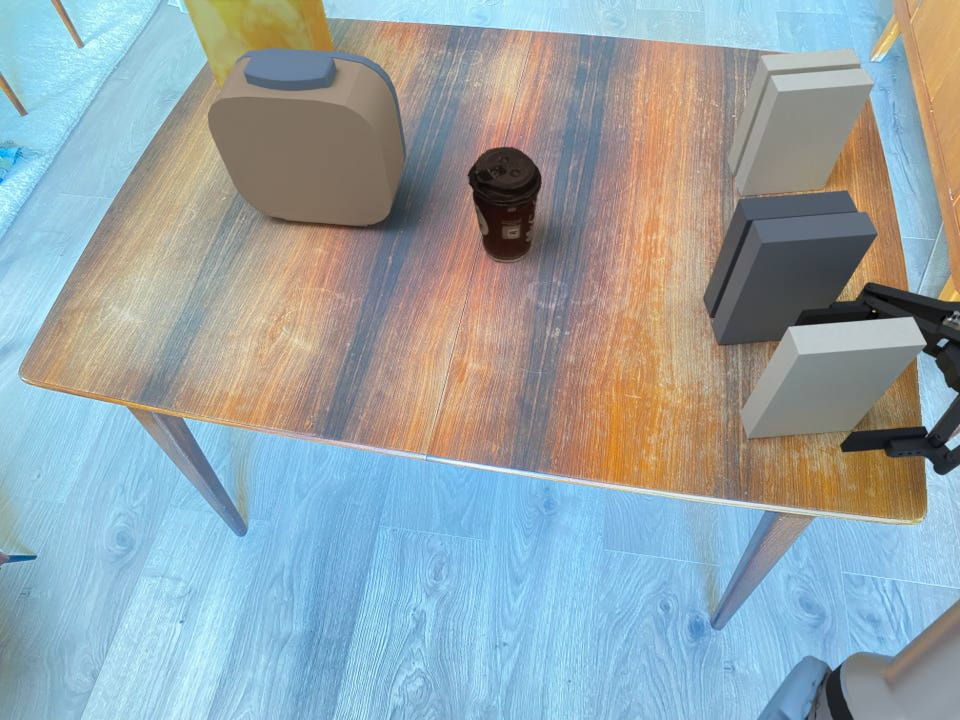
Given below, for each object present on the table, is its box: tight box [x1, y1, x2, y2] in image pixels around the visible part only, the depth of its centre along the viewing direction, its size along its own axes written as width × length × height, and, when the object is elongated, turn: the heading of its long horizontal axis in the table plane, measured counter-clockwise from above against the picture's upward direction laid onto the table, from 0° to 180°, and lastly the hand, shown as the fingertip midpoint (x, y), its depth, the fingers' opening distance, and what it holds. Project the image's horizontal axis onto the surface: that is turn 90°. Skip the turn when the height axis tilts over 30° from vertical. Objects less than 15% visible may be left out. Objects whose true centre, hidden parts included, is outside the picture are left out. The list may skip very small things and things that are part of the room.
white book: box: [739, 317, 927, 440], centre depth 66 cm, size 3×11×16 cm, turn 94°
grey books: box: [702, 189, 879, 346], centre depth 73 cm, size 7×11×17 cm, turn 94°
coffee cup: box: [467, 146, 543, 264], centre depth 83 cm, size 9×8×13 cm
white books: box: [726, 47, 875, 197], centre depth 87 cm, size 7×11×16 cm, turn 94°
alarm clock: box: [207, 48, 407, 228], centre depth 85 cm, size 21×10×22 cm, turn 81°
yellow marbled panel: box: [183, 0, 335, 90], centre depth 101 cm, size 18×12×24 cm
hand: (821, 378), depth 65 cm, fingers open, 13 cm apart
